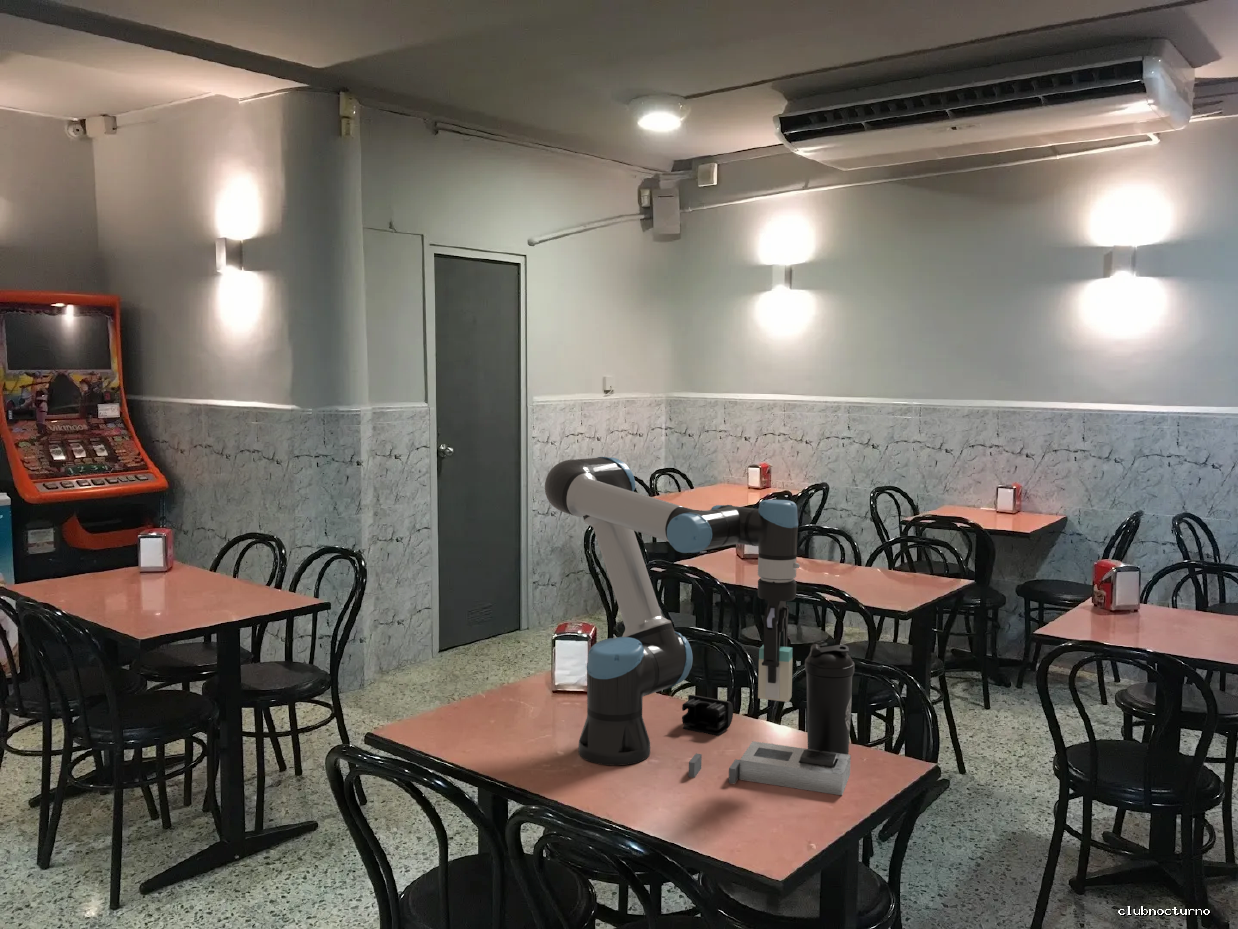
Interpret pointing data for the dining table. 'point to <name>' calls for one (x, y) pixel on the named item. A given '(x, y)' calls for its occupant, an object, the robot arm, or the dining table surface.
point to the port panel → (795, 767)
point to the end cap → (707, 715)
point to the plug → (785, 674)
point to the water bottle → (829, 698)
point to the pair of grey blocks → (696, 767)
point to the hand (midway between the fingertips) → (774, 694)
